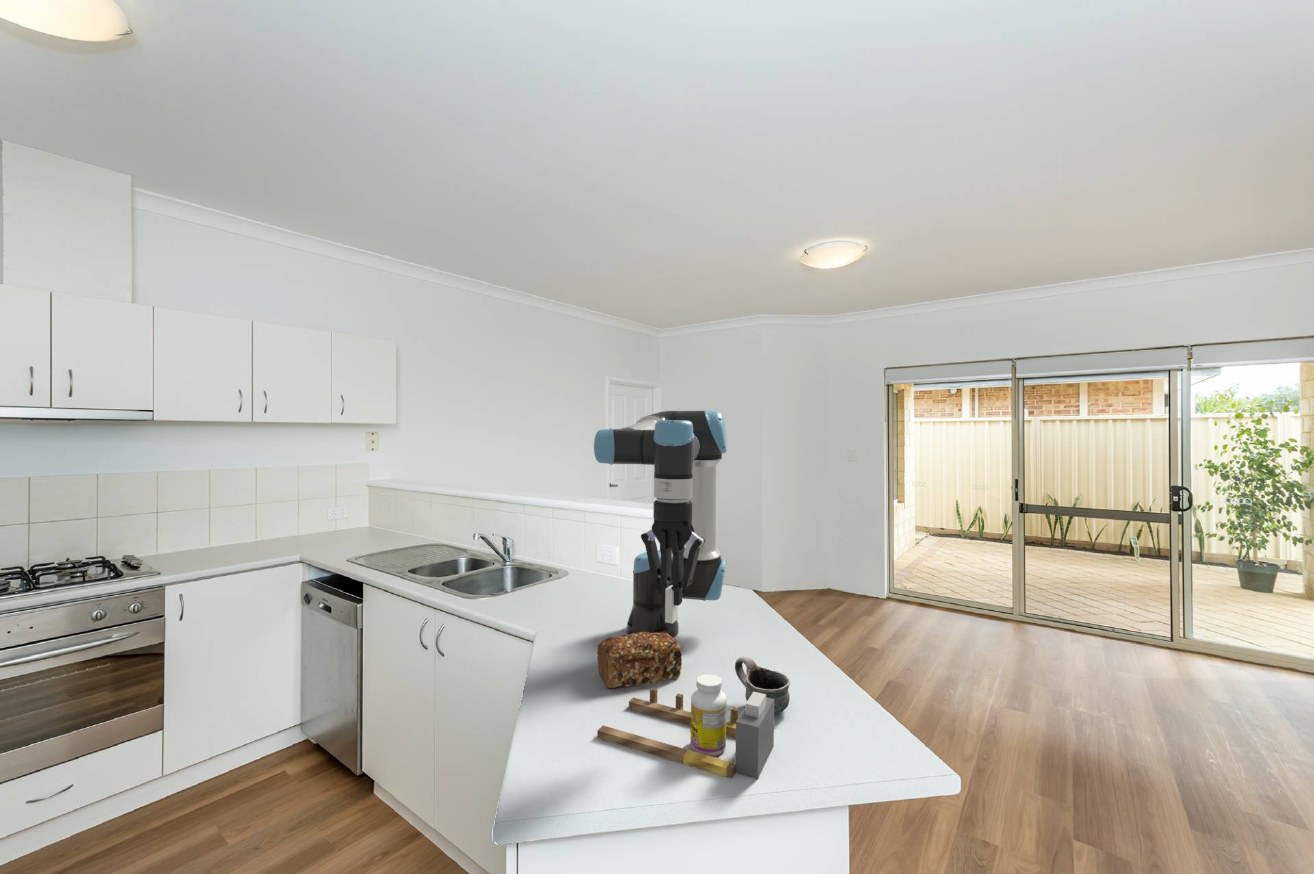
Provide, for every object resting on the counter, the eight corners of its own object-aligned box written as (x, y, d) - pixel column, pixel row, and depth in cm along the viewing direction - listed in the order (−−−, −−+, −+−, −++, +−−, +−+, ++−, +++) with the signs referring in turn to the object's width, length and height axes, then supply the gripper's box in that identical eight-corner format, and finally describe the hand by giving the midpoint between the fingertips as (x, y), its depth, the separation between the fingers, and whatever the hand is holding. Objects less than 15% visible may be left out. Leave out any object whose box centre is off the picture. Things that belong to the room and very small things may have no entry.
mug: (780, 728, 110) (781, 678, 110) (723, 710, 117) (724, 663, 117) (796, 707, 119) (796, 661, 118) (742, 692, 125) (742, 648, 125)
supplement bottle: (689, 737, 107) (690, 671, 106) (723, 737, 107) (724, 671, 106) (691, 758, 100) (692, 687, 100) (727, 758, 100) (729, 688, 100)
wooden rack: (597, 738, 106) (597, 717, 106) (636, 701, 120) (636, 683, 120) (731, 778, 94) (732, 755, 94) (757, 732, 108) (757, 712, 108)
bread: (607, 692, 125) (607, 648, 124) (595, 672, 135) (596, 631, 134) (683, 680, 131) (683, 638, 131) (667, 662, 141) (667, 623, 141)
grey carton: (733, 772, 96) (734, 709, 96) (751, 740, 106) (752, 683, 106) (757, 779, 94) (758, 715, 94) (773, 746, 104) (774, 688, 104)
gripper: (634, 499, 106) (632, 621, 107) (697, 504, 100) (695, 633, 101) (651, 495, 113) (650, 609, 113) (711, 499, 107) (709, 620, 108)
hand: (671, 620), depth 107 cm, fingers closed
